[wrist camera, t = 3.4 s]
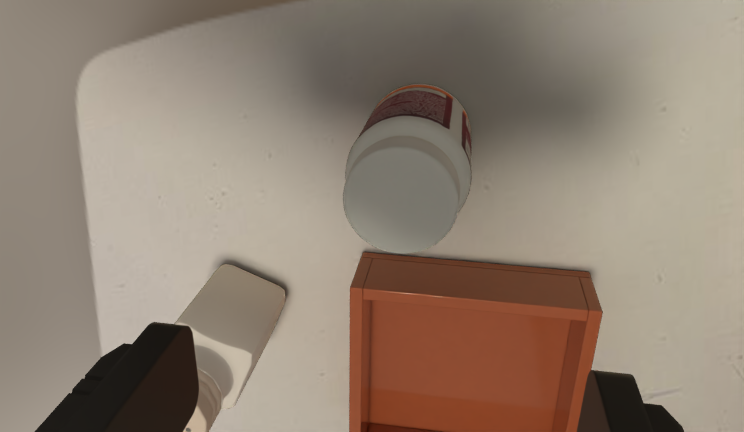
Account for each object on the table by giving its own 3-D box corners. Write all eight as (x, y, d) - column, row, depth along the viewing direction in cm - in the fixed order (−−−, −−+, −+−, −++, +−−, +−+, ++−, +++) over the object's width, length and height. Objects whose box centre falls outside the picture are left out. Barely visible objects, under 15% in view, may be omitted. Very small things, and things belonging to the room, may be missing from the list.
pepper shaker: (292, 286, 33) (228, 407, 25) (268, 341, 35) (201, 472, 26) (223, 256, 33) (135, 367, 25) (203, 312, 35) (114, 434, 26)
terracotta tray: (360, 421, 36) (348, 469, 33) (362, 251, 32) (349, 287, 28) (557, 446, 35) (565, 498, 32) (589, 271, 30) (603, 311, 27)
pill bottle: (348, 132, 29) (303, 199, 22) (420, 59, 27) (399, 105, 20) (419, 200, 30) (399, 289, 23) (494, 135, 28) (499, 207, 21)
